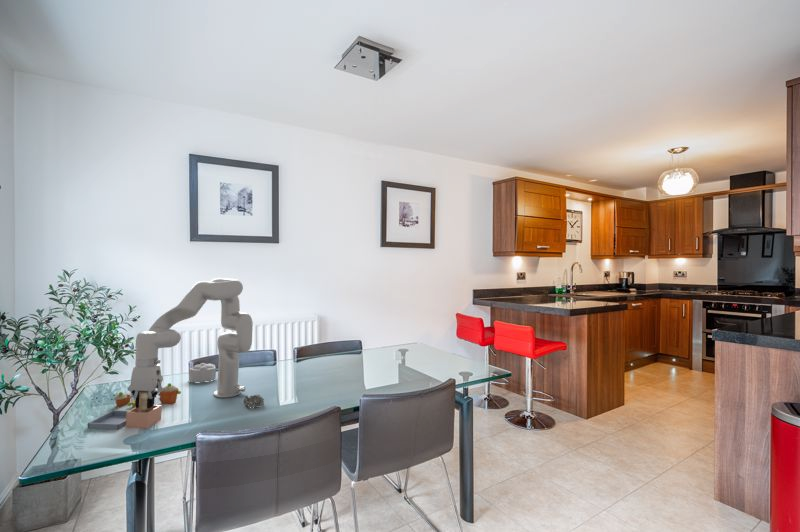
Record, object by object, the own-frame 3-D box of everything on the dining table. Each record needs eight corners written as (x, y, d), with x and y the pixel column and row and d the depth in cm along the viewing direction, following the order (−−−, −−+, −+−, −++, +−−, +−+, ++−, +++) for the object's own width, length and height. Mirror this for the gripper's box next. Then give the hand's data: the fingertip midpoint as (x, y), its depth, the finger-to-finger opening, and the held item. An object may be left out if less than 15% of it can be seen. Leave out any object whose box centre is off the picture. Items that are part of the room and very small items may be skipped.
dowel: (152, 421, 154) (153, 389, 154) (145, 425, 150) (147, 393, 150) (142, 420, 154) (143, 389, 154) (135, 425, 150) (137, 392, 150)
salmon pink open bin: (161, 421, 156) (161, 404, 156) (147, 430, 148) (148, 413, 148) (140, 420, 156) (141, 404, 156) (125, 429, 148) (126, 412, 148)
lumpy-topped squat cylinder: (216, 381, 209) (216, 366, 209) (189, 384, 202) (190, 368, 202) (213, 376, 218) (214, 361, 218) (188, 378, 211) (189, 363, 211)
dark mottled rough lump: (242, 402, 181) (242, 394, 181) (257, 399, 186) (258, 391, 186) (248, 410, 173) (249, 401, 173) (265, 406, 178) (265, 398, 178)
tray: (141, 418, 159) (141, 411, 158) (118, 432, 146) (118, 424, 145) (112, 417, 158) (112, 410, 158) (87, 430, 145) (87, 423, 145)
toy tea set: (176, 393, 189) (177, 374, 188) (184, 403, 177) (185, 383, 177) (111, 405, 171) (112, 384, 171) (115, 416, 159) (116, 394, 159)
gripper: (172, 360, 156) (170, 404, 156) (132, 358, 155) (130, 402, 156) (161, 365, 148) (159, 411, 148) (119, 363, 148) (117, 409, 148)
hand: (144, 406), depth 152 cm, fingers closed on dowel, 4 cm apart
